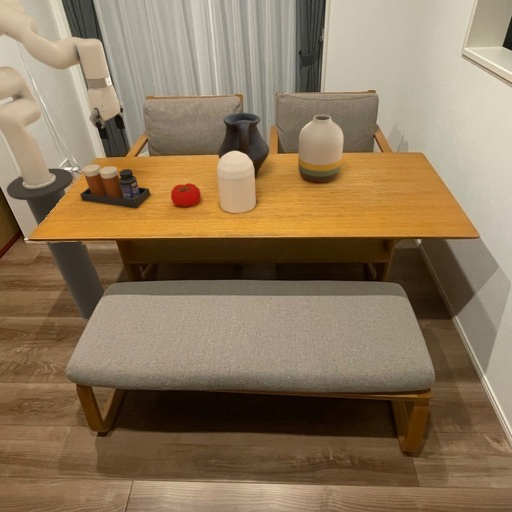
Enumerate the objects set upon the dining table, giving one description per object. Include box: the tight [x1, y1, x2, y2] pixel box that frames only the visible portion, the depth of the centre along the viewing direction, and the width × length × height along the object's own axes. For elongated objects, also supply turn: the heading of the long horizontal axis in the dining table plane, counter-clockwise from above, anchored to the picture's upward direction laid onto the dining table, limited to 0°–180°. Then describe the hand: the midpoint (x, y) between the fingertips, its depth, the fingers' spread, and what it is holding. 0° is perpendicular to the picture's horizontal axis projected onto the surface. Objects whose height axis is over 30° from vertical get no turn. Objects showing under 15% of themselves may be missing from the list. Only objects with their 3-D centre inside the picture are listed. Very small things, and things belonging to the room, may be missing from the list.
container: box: [216, 151, 257, 214], centre depth 137 cm, size 14×13×20 cm
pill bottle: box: [118, 168, 140, 201], centre depth 145 cm, size 6×6×11 cm
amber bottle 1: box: [82, 163, 107, 196], centre depth 149 cm, size 6×6×11 cm
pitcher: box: [218, 112, 270, 176], centre depth 154 cm, size 21×22×25 cm
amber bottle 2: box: [100, 165, 123, 199], centre depth 147 cm, size 6×6×11 cm
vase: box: [297, 114, 344, 183], centre depth 150 cm, size 17×17×24 cm
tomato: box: [170, 182, 202, 207], centre depth 143 cm, size 10×11×6 cm
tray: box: [79, 186, 151, 209], centre depth 150 cm, size 24×10×3 cm, turn 73°
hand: (113, 133), depth 137 cm, fingers open, 9 cm apart
